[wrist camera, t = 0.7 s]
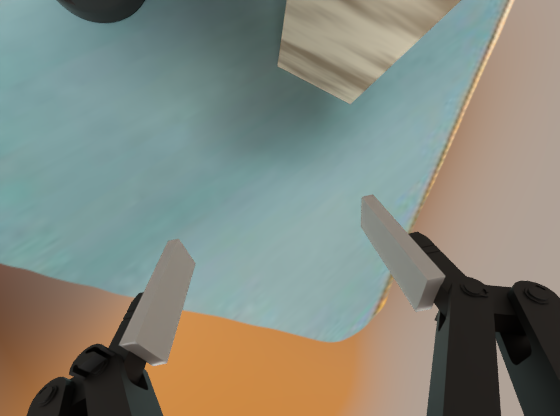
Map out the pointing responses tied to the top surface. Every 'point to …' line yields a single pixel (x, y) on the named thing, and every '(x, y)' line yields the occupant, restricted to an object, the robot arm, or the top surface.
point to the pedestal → (352, 39)
